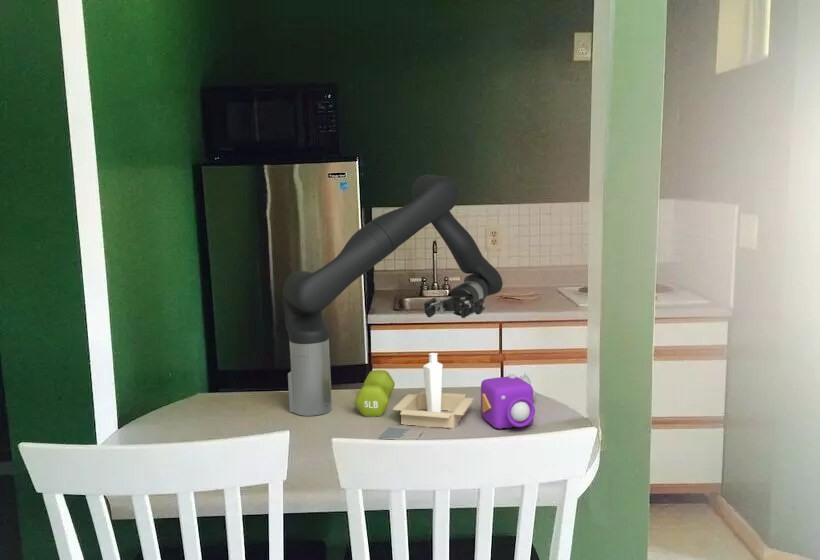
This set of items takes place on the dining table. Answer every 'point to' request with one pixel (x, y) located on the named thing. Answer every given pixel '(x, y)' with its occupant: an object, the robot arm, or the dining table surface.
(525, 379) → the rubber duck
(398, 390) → the dining table surface
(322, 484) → the dining table surface
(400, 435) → the mat
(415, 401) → the carton
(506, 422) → the toy camera
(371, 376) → the dumbbell
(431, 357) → the white vase
